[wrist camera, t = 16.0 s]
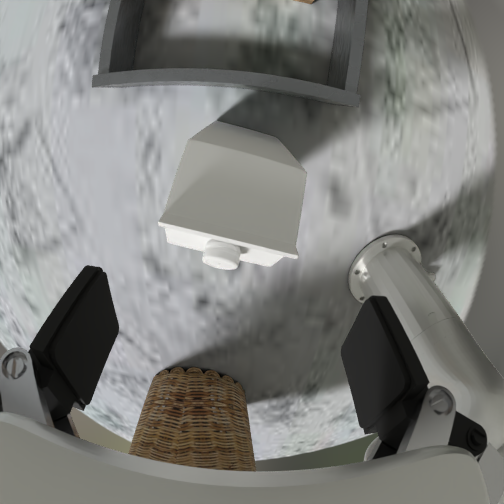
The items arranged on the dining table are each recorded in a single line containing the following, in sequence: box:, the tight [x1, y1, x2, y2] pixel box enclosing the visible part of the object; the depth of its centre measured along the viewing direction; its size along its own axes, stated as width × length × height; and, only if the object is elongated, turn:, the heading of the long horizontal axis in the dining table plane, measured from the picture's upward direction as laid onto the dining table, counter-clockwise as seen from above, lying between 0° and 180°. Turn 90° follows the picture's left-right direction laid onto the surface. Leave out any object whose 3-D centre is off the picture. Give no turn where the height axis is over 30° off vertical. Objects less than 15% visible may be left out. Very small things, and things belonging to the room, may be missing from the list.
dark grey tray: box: [92, 0, 368, 107], centre depth 17 cm, size 24×18×7 cm
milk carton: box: [158, 121, 307, 270], centre depth 21 cm, size 7×7×19 cm
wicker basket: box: [128, 367, 256, 472], centre depth 41 cm, size 35×35×33 cm
